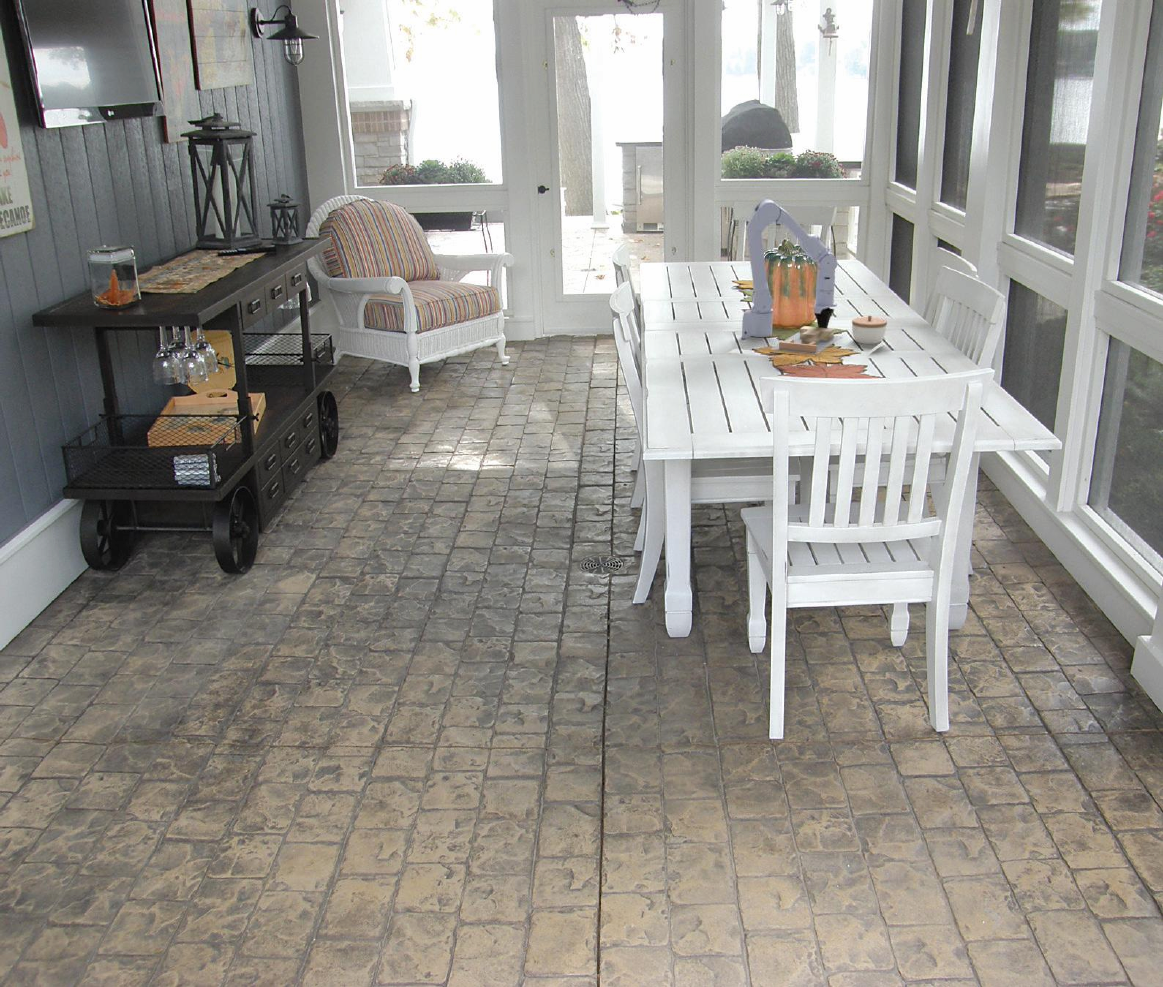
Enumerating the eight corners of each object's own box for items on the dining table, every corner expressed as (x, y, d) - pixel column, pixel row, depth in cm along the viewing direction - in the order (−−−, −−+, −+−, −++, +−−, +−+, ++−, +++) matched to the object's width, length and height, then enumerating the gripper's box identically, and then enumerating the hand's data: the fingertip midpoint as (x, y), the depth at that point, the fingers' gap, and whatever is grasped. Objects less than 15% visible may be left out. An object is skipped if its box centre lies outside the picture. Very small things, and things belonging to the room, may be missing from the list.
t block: (792, 342, 355) (792, 333, 354) (803, 335, 364) (804, 326, 363) (822, 345, 350) (823, 336, 349) (833, 338, 359) (834, 329, 358)
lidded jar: (871, 350, 348) (873, 320, 345) (843, 344, 356) (845, 315, 353) (891, 344, 354) (894, 315, 351) (864, 339, 362) (866, 310, 359)
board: (769, 353, 347) (770, 343, 346) (797, 335, 368) (798, 326, 367) (816, 358, 340) (816, 348, 339) (842, 340, 361) (842, 330, 360)
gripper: (830, 294, 352) (827, 336, 356) (844, 287, 363) (841, 327, 368) (808, 293, 355) (806, 334, 360) (823, 285, 367) (820, 325, 371)
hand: (822, 331), depth 364 cm, fingers closed
